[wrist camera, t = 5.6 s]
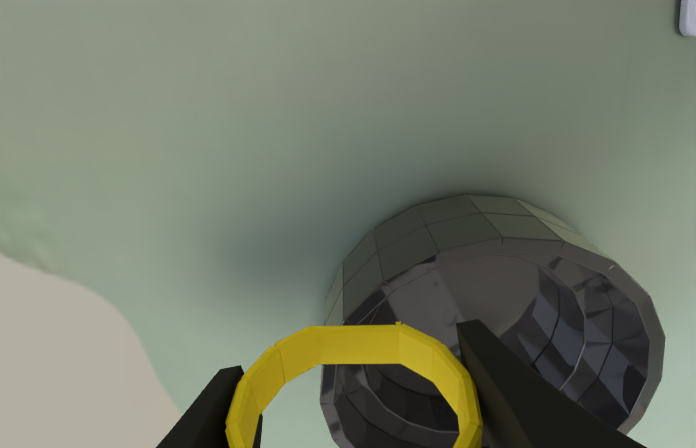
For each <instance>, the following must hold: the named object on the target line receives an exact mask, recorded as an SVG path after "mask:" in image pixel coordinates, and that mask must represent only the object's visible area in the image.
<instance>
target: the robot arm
mask: <svg viewBox="0 0 696 448" xmlns="http://www.w3.org/2000/svg"><path fill="white" fill-rule="evenodd" d="M679 27H680V31H681V33H682V34H683V35H685V36H696V0H681V10H680V23H679ZM456 328H457V335H458V341H459V348H460V355H461V361H462V365H463V366H464V367H465V368H466V369H467V370H468V372H469V373H470V375H471V379H473V381H474V383H475V385H476V390H477V396H478V401H479V406H480V411H481V416H482V421H483V426H482V430H483V432H484V434H485V437H486V439H487V441H488V443H489V446H490V448H647V447H645V446H643V445H641V444H640V443H638V442H636V441H634V440H633V439H631V438H629V437H628V436H626V435H625V434H623V433H621V432H620V431H618V430H617V429H615V428H613V427H612V426H610V425H609V424H607V423H606V422H604V421H603V420H601V419H600V418H598V417H597V416H595V415H594V414H592V413H591V412H589V411H588V410H586V409H585V408H583V407H582V406H580V405H579V404H578V403H576V402H575V401H573V400H572V399H571V398H569V397H568V396H567V395H565V394H564V393H563V392H561V391H560V390H559V389H557V388H556V387H555V386H553V385H552V384H551V383H550V382H548V381H547V380H546V379H545V378H543V377H542V376H541V375H540V374H538V373H537V372H536V371H535V370H534V369H532V368H531V367H530V366H529V365H528V364H527V363H525V362H524V361H523V360H522V359H521V358H520V357H518V356H517V355H516V354H515V353H514V352H513V351H512V350H511V349H510V348H509V347H507V346H506V345H505V344H504V343H503V342H502V341H501V340H500V339H499V338H498V337H497V336H496V335H495V334H494V333H493V332H492V331H491V330H490V329H489V328H488V327H487V326H486V325H485V324H484V323H483V322H482V321H480V320H479V319H475V320H470V321H465V322H460V323H456ZM243 375H244V372H243V370H242V367H241V365H240V366H235V367H230V368H224V369H220V370H219V371H218V373H217V374H216V375H215V376H214V377H213V379H212V380H211V381H210V382H209V383H208V385H207V386H206V387H205V388H204V390H203V391H202V392H201V394H200V395H199V396H198V397H197V399H196V400H195V401H194V402H193V404H192V405H191V406H190V407H189V409H188V410H187V411H186V412H185V414H184V415H183V416H182V417H181V418H180V420H179V421H178V422H177V423H176V425H175V426H174V427H173V428H172V430H171V431H170V432H169V433H168V434H167V435H166V437H165V438H164V439H163V440H162V441H161V442H160V444H159V445H158V446H157V447H156V448H230V447H229V444H228V440H227V436H226V433H225V430H226V424H225V422H226V419H227V415H228V412H229V409H230V406H231V403H232V399H233V396H234V393H235V390H236V386H237V383H238V382H239V381H240V380H241V377H242V376H243ZM262 419H263V416H262V414H260V415H259V419H258V424H257V428H256V433H255V437H254V442H253V446H252V448H260V442H261V432H262Z"/></svg>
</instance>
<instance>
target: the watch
mask: <svg viewBox="0 0 696 448" xmlns="http://www.w3.org/2000/svg"><path fill="white" fill-rule="evenodd" d="M395 323H396V325H351V326H309V327H307V328H305V329H303V330H301V331H299V332H297V333H295V334H293V335H291V336H289V337H287V338H285V339H283V340H281V341H279V342H277V343H275V344H274V346H273V347H269V348H268V349H267V350H266V352H265V353H264V354H263V355H262V356H261V357H260V358H259V359H258V360H257V361H256V362H255V363H254V364H253V365H252V366H251V367H250V368H249V370H248V371H247V372H246V373H245V374H244V375H243V376H242V377H241V380H240V381H239V382H238V383H237V386H236V390H235V393H234V396H233V399H232V403H231V406H230V409H229V412H228V415H227V419H226V422H225V424H226V430H225V433H226V436H227V440H228V444H229V447H230V448H252V446H253V442H254V437H255V433H256V428H257V424H258V419H259V415H260V414H261V413H262V412H263V410H264V409H265V408H266V407H267V405H268V404H269V403H270V402H271V400H272V399H273V398H274V397H275V395H276V394H277V393H278V392H279V390H280V389H281V388H282V387H283V385H284V384H285V383H287V382H288V381H290V380H292V379H294V378H295V377H297V376H299V375H301V374H302V373H304V372H306V371H308V370H309V369H311V368H313V367H315V366H316V365H318V364H402V365H404V366H406V367H408V368H409V369H411V370H413V371H415V372H416V373H418V374H420V375H422V376H423V377H425V378H427V379H429V380H430V381H432V382H433V383H434V384H435V385H436V387H437V388H438V389H439V391H440V392H441V394H442V395H443V396H444V398H445V399H446V400H447V402H448V403H449V404H450V406H451V407H452V409H453V410H454V411H455V413H456V414H457V415H458V423H459V431H460V434H459V436H458V438H457V440H456V442H455V445H454V447H453V448H481V438H482V426H483V421H482V416H481V411H480V406H479V401H478V396H477V390H476V385H475V383H474V381H473V379H471V375H470V373H469V372H468V370H467V369H466V368H465V367H464V366H463V365H462V364H461V362H460V361H459V360H458V359H457V358H456V357H455V355H454V354H453V353H452V352H451V351H450V350H449V349H448V347H447V346H446V345H444V344H441V342H440V341H439V340H437V339H435V338H432V337H430V336H428V335H426V334H424V333H422V332H420V331H418V330H416V329H414V328H412V327H410V326H408V325H406V324H402V325H401V322H395Z"/></svg>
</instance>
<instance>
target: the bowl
mask: <svg viewBox="0 0 696 448" xmlns="http://www.w3.org/2000/svg"><path fill="white" fill-rule="evenodd" d="M475 319H479V320H480V321H482V322H483V323H484V324H485V325H486V326H487V327H488V328H489V329H490V330H491V331H492V332H493V333H494V334H495V335H496V336H497V337H498V338H499V339H500V340H501V341H502V342H503V343H504V344H505V345H506V346H507V347H509V348H510V349H511V350H512V351H513V352H514V353H515V354H516V355H517V356H518V357H520V358H521V359H522V360H523V361H524V362H525V363H527V364H528V365H529V366H530V367H531V368H532V369H534V370H535V371H536V372H537V373H538V374H540V375H541V376H542V377H543V378H545V379H546V380H547V381H548V382H550V383H551V384H552V385H553V386H555V387H556V388H557V389H559V390H560V391H561V392H563V393H564V394H565V395H567V396H568V397H569V398H571V399H572V400H573V401H575V402H576V403H578V404H579V405H580V406H582V407H583V408H585V409H586V410H588V411H589V412H591V413H592V414H594V415H595V416H597V417H598V418H600V419H601V420H603V421H604V422H606V423H607V424H609V425H610V426H612V427H613V428H615V429H617V430H618V431H620V432H621V433H623V434H625V435H627V434H628V433H629V432H630V431H631V429H632V428H633V427H634V426H635V425H636V424H637V423H638V422H639V421H640V420H641V418H642V417H643V416H644V414H645V412H646V410H647V408H648V405H649V403H650V401H651V399H652V397H653V395H654V393H655V391H656V389H657V387H658V385H659V383H660V381H661V379H662V370H663V359H664V348H665V335H664V332H663V329H662V326H661V324H660V321H659V318H658V316H657V313H656V310H655V307H654V305H653V302H652V299H651V297H650V296H649V294H648V293H647V292H646V291H645V290H644V289H643V288H642V287H641V286H640V285H639V284H638V283H637V282H636V281H635V280H634V279H633V278H632V277H631V276H630V275H629V274H628V273H627V272H626V271H625V270H624V269H623V268H622V267H621V266H620V265H619V264H618V263H617V262H615V261H614V260H613V259H611V258H610V257H609V256H607V255H606V254H605V253H603V252H602V251H601V250H599V249H598V248H597V247H595V246H594V245H593V244H592V243H590V242H589V241H588V240H586V239H585V238H584V237H582V236H581V235H580V234H578V233H577V232H576V231H574V230H573V229H572V228H570V227H569V226H568V225H566V224H565V223H564V222H563V221H561V220H560V219H559V218H557V217H556V216H555V215H553V214H551V213H548V212H546V211H543V210H541V209H539V208H536V207H534V206H531V205H529V204H527V203H524V202H522V201H519V200H517V199H515V198H510V197H495V196H481V195H467V194H466V195H459V196H455V197H450V198H446V199H442V200H437V201H433V202H428V203H424V204H420V205H417V206H414V207H412V208H410V209H408V210H406V211H405V212H403V213H401V214H399V215H398V216H396V217H394V218H392V219H390V220H389V221H387V222H385V223H383V224H381V225H380V226H378V227H376V228H374V230H372V231H371V232H370V233H369V235H368V236H367V237H366V238H365V239H364V240H363V241H362V242H361V243H360V244H359V245H358V246H357V247H356V248H355V249H354V250H353V251H352V252H351V253H350V254H349V255H348V257H347V258H346V259H345V260H344V261H343V262H342V264H341V266H340V268H339V270H338V273H337V275H336V277H335V279H334V281H333V283H332V286H331V288H330V290H329V292H328V294H327V296H326V304H325V319H324V326H351V325H396V323H395V322H401V325H402V324H406V325H408V326H410V327H412V328H414V329H416V330H418V331H420V332H422V333H424V334H426V335H428V336H430V337H432V338H435V339H437V340H439V341H440V342H441V344H444V345H446V346H447V347H448V349H449V350H450V351H451V352H452V353H453V354H454V355H455V357H456V358H457V359H458V360H459V361H460V362H461V364H462V361H461V355H460V348H459V341H458V335H457V328H456V323H460V322H465V321H470V320H475ZM320 406H321V409H322V411H323V414H324V417H325V420H326V423H327V425H328V428H329V431H330V434H331V436H332V439H333V441H334V442H335V443H336V444H337V445H338V446H339V448H453V447H454V445H455V442H456V440H457V438H458V436H459V434H460V431H459V423H458V415H457V414H456V413H455V411H454V410H453V409H452V407H451V406H450V404H449V403H448V402H447V400H446V399H445V398H444V396H443V395H442V394H441V392H440V391H439V389H438V388H437V387H436V385H435V384H434V383H433V382H432V381H430V380H429V379H427V378H425V377H423V376H422V375H420V374H418V373H416V372H415V371H413V370H411V369H409V368H408V367H406V366H404V365H402V364H322V368H321V385H320ZM481 448H490V446H489V443H488V441H487V439H486V437H485V434H484V432H483V430H482V438H481Z"/></svg>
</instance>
